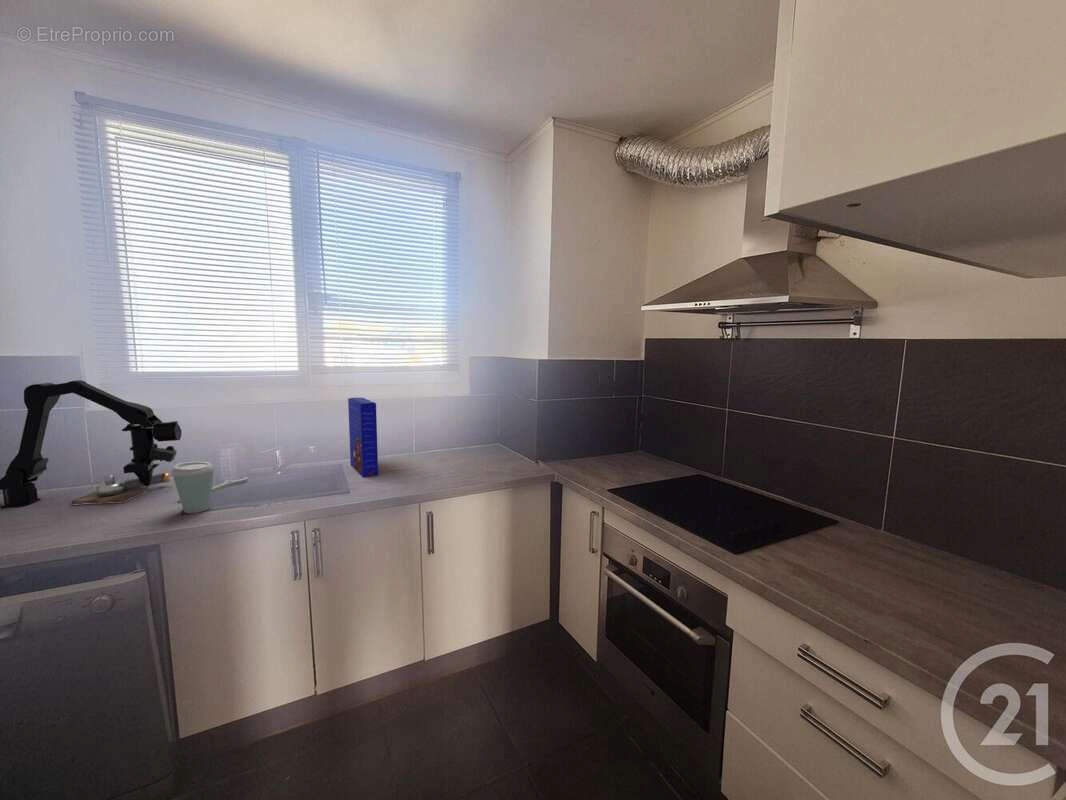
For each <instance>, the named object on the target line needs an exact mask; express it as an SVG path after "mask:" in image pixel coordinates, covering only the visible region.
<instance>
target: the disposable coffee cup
mask: <svg viewBox="0 0 1066 800" xmlns="http://www.w3.org/2000/svg"><path fill="white" fill-rule="evenodd" d="M172 467H173V469H171V476H173V480H174V484H175V487H176V490H177V493H178V498H180V501H181V503H180V504H181V508H182V510H183V511H184V513H185V514H197V513H201V512H204V511H207V510H208V509H209V508H210V506H211V500H212V493H213V492H212V487H213V482H214V481H213V480H214V471H215V465H213V464H212V463H211V462H208V461H189V462H188V461H187V462H185V461H184V462H181V463H180V462H179V463H177V464H175V465H173V466H172Z"/></svg>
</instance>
